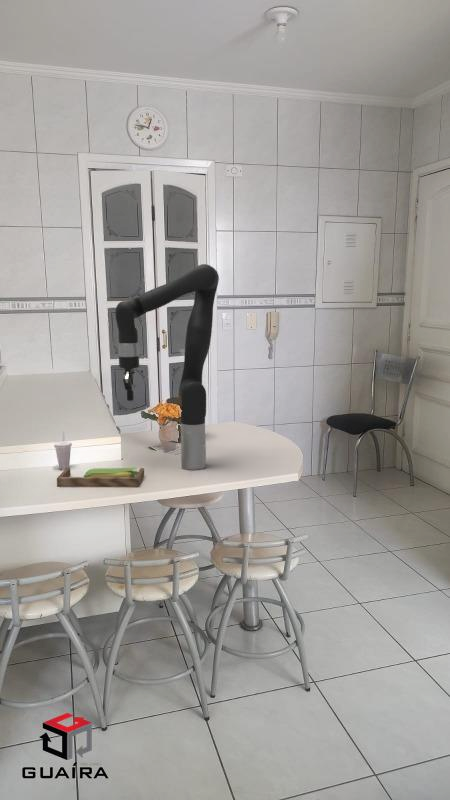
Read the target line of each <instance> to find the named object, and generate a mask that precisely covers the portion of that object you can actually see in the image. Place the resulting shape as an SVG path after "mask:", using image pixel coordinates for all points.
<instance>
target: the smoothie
mask: <svg viewBox="0 0 450 800" xmlns="http://www.w3.org/2000/svg"><path fill="white" fill-rule="evenodd" d="M53 444H54V447H53V448H55V453H56V458H57V463H58V464H57V465H58V469H59V470H65V469H66V468H70V463H71V452H72V451H71V449H72V448H71V447H72V445H73V444H72V441H68V440H65V432H64V431H62V441H57V442H55V443H53Z"/></svg>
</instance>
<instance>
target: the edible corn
mask: <svg viewBox="0 0 450 800" xmlns="http://www.w3.org/2000/svg"><path fill="white" fill-rule="evenodd" d="M136 469H137V467H135V466H134V467H115V468H114V467H111V468H110V467H109V468H106V467H105V468H102V467H101V468H90V469H88V470H87V471H86V472H85V473H84V474H83V477H136V476H137V474H138V472H139V471H138V470H137V471H135V470H136Z"/></svg>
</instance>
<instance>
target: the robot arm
mask: <svg viewBox="0 0 450 800" xmlns="http://www.w3.org/2000/svg"><path fill="white" fill-rule="evenodd" d="M219 280H220V278H219V272H218V271H217V269H216V268H214V267H213V266H212V265H210V264H207V263H205V264H204V263H203V264H199V265H197V266H196V267H194V268H193V269H191V270H190V271H188V272H186V273H185V274H183V275H181V276H180V277H177V278H176V279H174V280H172V281H169V282H167V283H165V284H162V285H160V286H157V287H155V288H152V289H150V290H147V291H146V292H143V293H142V294H140V295H139V296H137V297H135V298H132V299H129V300H124V301H123V300H122V301H120V302H119V303H117V305H116V307H115V312H114V313H115V321H116V326H117V329H118V367H119V368H120V369H123V370H124V372H123V374H122V375H123V376H122V377H123V379H122V381H123V385H124V390H125V391H126V400H127V401H130V402H132V401H134V399H135V397H134V396H135V395H134V391H135V390H134V389H135V388H136V379H137V378H136V377H137V374H136V371H135V369H137V368H140V348H139V340H138V339H139V337H138V329H137V328H136V325H135V319H137V318H138V317H139V318H140V317H141V316H143V315H145V314H146V313H148V312H152V311H155V310H158V309H160V308H162V307H164V306H166V305H168V304H170V303H171V302H173V301H175V300H177V299H179V298H180V297H182V296H185V295H187V294H191V293H194V298H193V299H194V300H193V307H192V309H191V313H190V316H189V319H188V322H187V326H186V332H185V341H184V343H185V344H184V359H183V360H184V363H183V370H182V375H181V380H180V383H179V387H178V396H179V395H180V397H181V401H182V412H181V417H180V419H181V443H180V463H181V464H180V465H181V468H182V469H184V470H191V471H192V470H193V471H197V470H202V469H204V470H205V469H206V466H207V450H206V449H207V442H206V417H207V391H206V388H205V386H204V384H203V373H204V372H203V370H204V365H205V362H206V359H207V357H208V354H209V350H210V346H211V339H212V334H213V333H212V331H213V319H214V318H213V317H214V303H215V298H216V294H217V289H218V286H219Z"/></svg>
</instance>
